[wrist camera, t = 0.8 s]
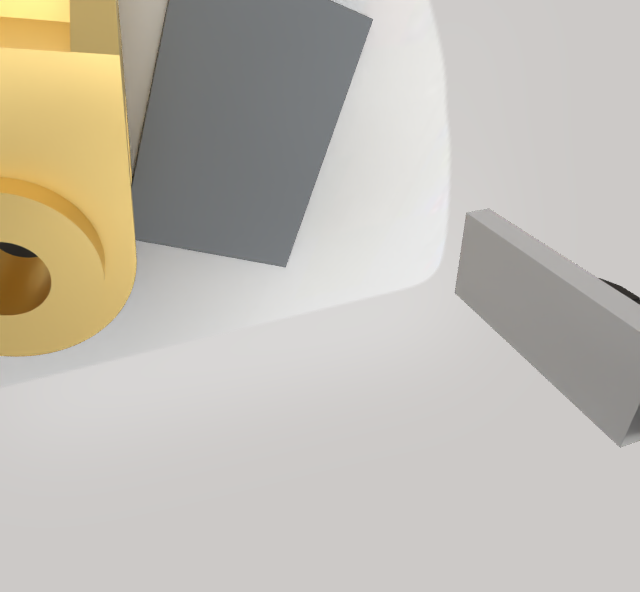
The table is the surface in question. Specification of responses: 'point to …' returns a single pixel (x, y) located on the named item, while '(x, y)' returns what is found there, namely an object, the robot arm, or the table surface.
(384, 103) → the table surface
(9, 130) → the gold clevis bracket
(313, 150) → the mat
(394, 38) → the table surface
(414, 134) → the table surface
